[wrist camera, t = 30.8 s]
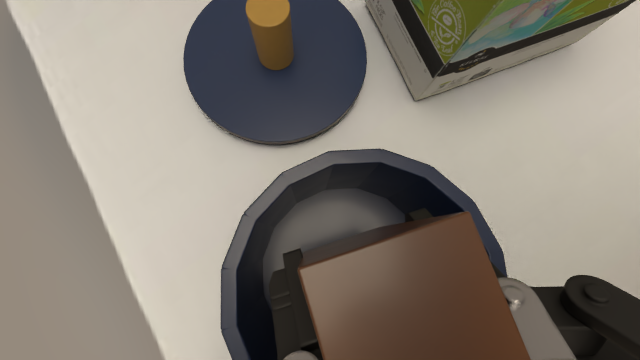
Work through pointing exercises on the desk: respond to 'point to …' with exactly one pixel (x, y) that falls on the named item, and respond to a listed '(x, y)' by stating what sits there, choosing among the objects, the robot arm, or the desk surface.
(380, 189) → the tin
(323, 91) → the tin lid
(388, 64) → the desk surface
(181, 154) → the desk surface
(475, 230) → the block
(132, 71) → the desk surface
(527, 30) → the tea box
